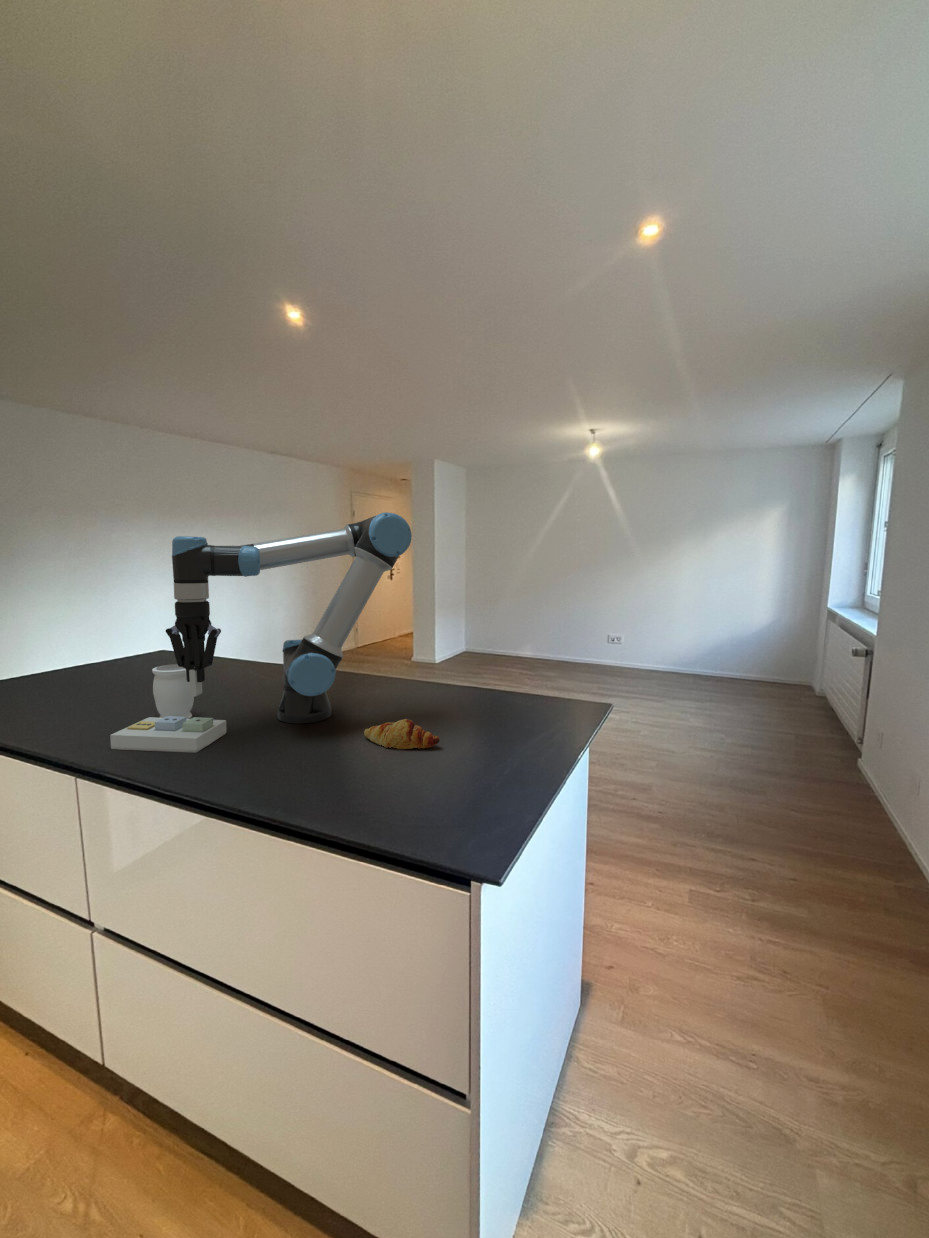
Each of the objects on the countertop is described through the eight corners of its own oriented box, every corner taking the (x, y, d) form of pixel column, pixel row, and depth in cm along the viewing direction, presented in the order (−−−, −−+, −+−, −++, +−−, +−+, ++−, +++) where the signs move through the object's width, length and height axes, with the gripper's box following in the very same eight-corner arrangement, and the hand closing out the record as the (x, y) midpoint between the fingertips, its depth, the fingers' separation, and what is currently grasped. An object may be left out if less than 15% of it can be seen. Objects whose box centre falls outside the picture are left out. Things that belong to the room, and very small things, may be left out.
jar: (183, 725, 141) (181, 671, 139) (145, 724, 141) (143, 670, 140) (203, 713, 152) (201, 664, 150) (168, 712, 152) (166, 663, 150)
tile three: (160, 733, 132) (159, 721, 131) (147, 739, 127) (147, 727, 126) (141, 732, 132) (140, 720, 132) (127, 739, 127) (127, 727, 127)
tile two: (186, 728, 131) (186, 716, 131) (174, 734, 126) (174, 722, 126) (167, 727, 131) (167, 715, 131) (155, 734, 127) (154, 721, 126)
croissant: (359, 755, 132) (351, 733, 128) (374, 727, 140) (367, 705, 136) (435, 764, 126) (430, 742, 122) (447, 734, 134) (442, 712, 130)
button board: (226, 733, 136) (226, 720, 135) (196, 752, 122) (196, 738, 121) (149, 730, 137) (148, 717, 136) (111, 749, 123) (110, 734, 122)
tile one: (213, 729, 131) (213, 717, 131) (202, 735, 126) (202, 723, 126) (194, 728, 131) (193, 716, 131) (182, 735, 126) (182, 722, 126)
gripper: (226, 599, 128) (229, 691, 131) (175, 598, 129) (180, 690, 132) (209, 602, 121) (213, 699, 124) (156, 601, 122) (161, 697, 124)
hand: (196, 694), depth 128 cm, fingers closed
